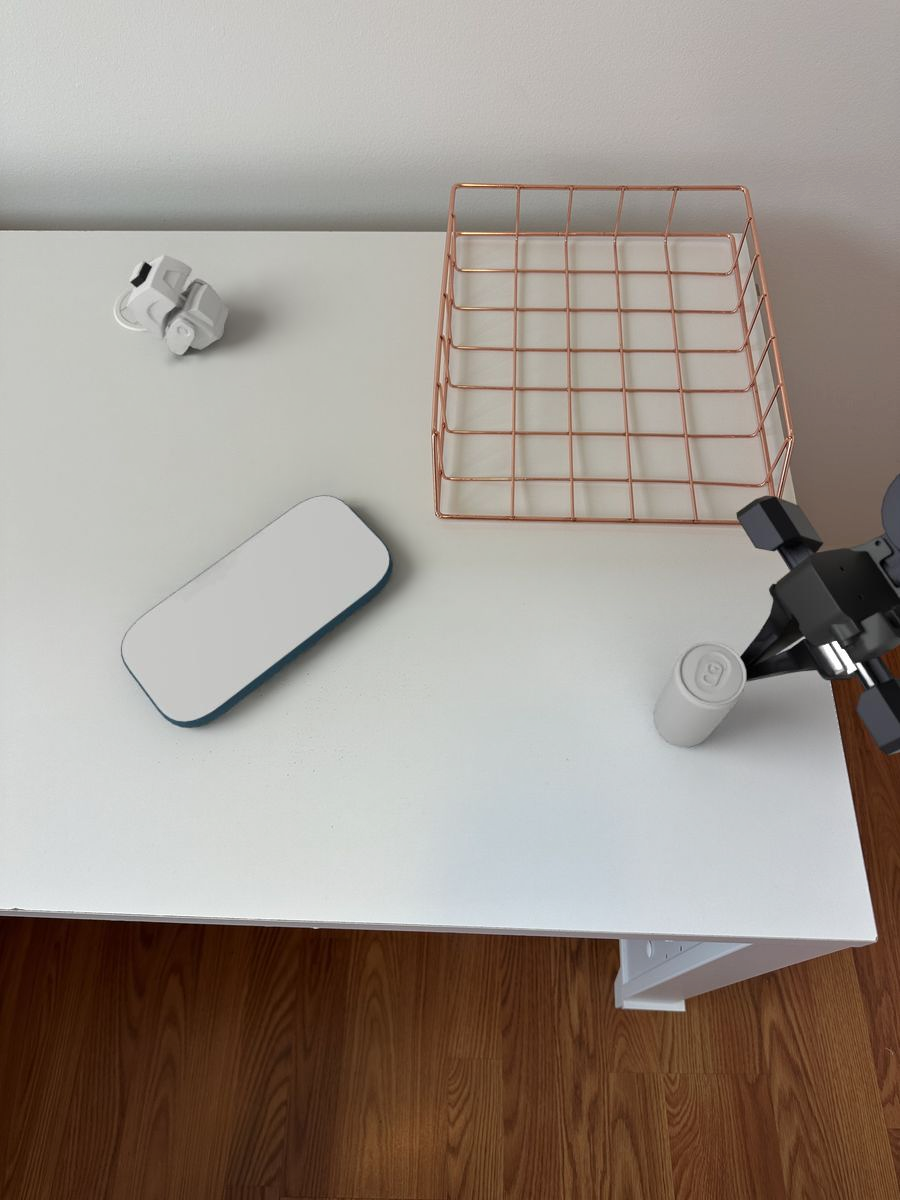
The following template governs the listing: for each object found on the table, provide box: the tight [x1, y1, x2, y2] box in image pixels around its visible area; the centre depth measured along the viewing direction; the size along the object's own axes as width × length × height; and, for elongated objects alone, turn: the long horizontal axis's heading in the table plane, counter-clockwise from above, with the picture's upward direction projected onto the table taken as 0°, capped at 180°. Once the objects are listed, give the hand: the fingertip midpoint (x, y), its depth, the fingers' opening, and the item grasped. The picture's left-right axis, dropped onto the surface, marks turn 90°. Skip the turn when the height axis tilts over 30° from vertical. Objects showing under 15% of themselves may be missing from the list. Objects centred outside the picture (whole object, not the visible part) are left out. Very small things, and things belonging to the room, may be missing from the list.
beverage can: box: [653, 640, 747, 748], centre depth 62 cm, size 5×5×12 cm
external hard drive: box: [120, 494, 394, 729], centre depth 72 cm, size 24×12×2 cm, turn 131°
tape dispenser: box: [126, 254, 230, 356], centre depth 83 cm, size 6×7×10 cm
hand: (730, 679), depth 61 cm, fingers closed
